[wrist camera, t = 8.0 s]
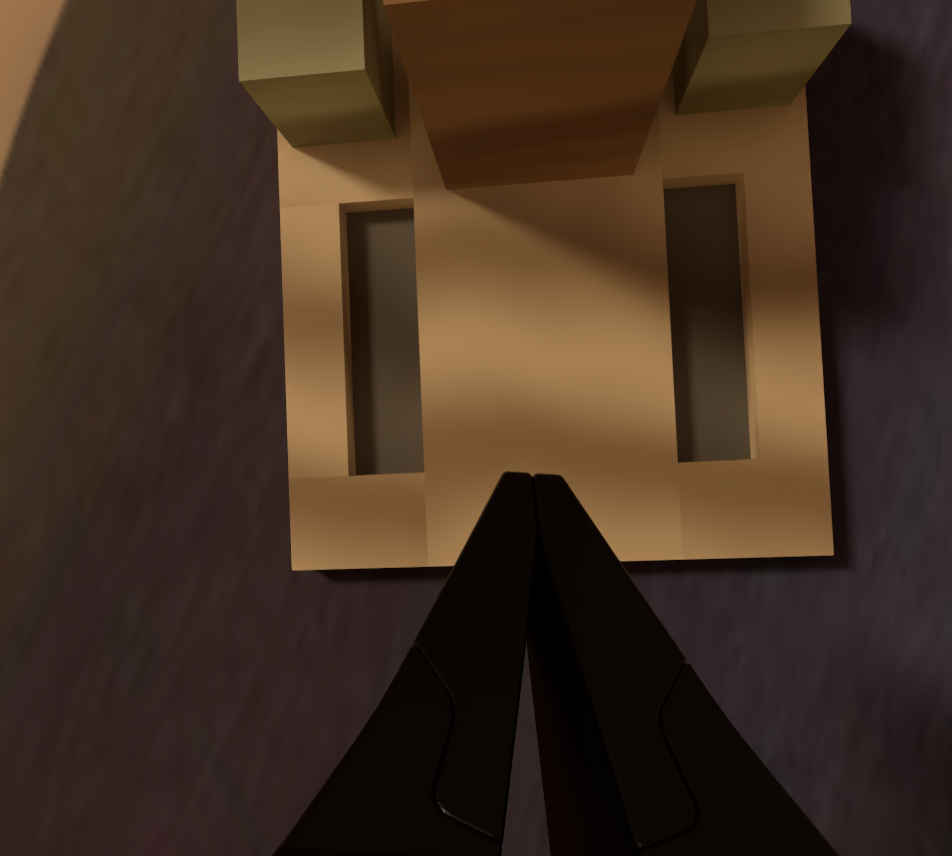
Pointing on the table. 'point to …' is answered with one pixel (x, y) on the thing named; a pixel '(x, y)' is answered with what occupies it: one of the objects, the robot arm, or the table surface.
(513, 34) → the walnut block
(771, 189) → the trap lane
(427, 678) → the robot arm
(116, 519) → the table surface
